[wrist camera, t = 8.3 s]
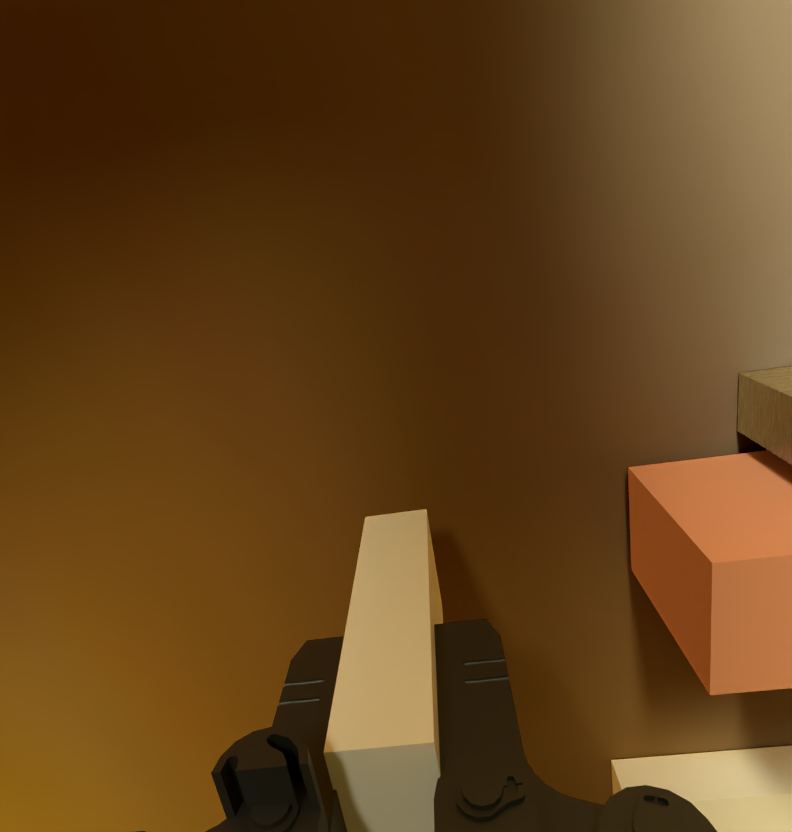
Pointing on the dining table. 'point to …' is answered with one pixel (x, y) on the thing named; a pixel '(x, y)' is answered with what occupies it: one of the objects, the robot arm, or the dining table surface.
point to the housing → (767, 409)
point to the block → (721, 785)
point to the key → (719, 563)
